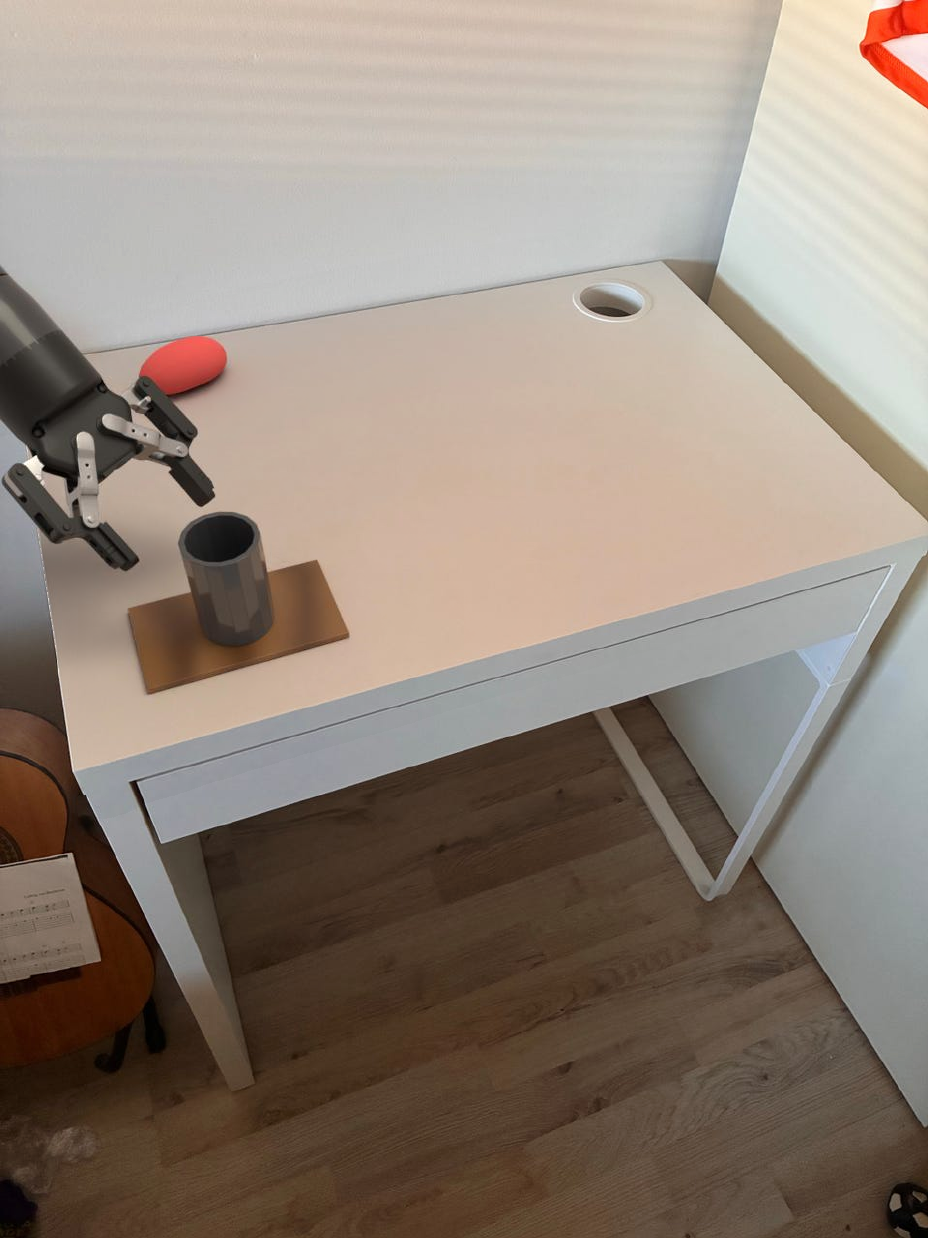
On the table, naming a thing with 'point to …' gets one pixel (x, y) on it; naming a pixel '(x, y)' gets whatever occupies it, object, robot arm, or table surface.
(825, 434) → the table surface
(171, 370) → the stress ball
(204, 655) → the plate
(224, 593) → the open gray tube
